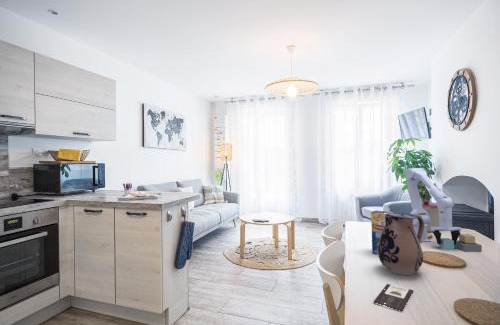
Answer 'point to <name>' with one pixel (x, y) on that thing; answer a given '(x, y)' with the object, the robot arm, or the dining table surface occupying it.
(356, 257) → the dining table surface
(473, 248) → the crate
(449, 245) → the pale teal cube
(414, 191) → the robot arm
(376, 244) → the beverage box
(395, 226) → the ceramic pitcher
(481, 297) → the dining table surface
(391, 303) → the chocolate bar
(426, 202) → the canister
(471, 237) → the wooden block
